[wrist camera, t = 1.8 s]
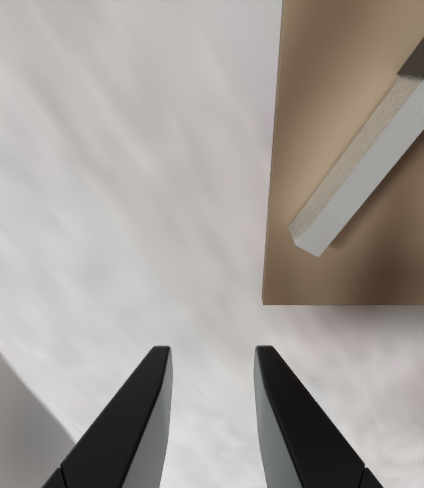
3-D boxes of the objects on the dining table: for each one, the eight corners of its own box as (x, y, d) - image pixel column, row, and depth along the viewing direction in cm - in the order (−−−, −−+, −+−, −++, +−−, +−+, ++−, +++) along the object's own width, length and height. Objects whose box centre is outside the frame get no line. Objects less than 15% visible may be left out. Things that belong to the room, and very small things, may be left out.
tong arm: (542, -51, 14) (596, -68, 12) (312, 240, 20) (322, 261, 18) (510, -82, 13) (560, -104, 11) (285, 225, 19) (292, 245, 17)
